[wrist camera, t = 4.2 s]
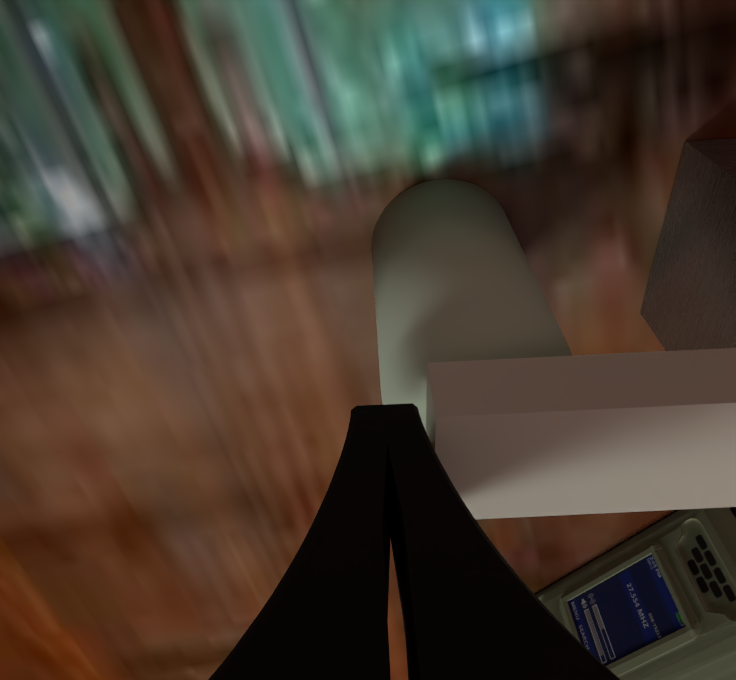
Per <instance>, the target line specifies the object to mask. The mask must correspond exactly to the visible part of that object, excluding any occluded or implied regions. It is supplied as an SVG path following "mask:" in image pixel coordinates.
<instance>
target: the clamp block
mask: <svg viewBox="0 0 736 680" xmlns="http://www.w3.org/2000/svg"><path fill="white" fill-rule="evenodd" d="M641 315H642V316H643V318H644V319H645V321H646V322H647V324H648V325H649V327H650V328H651V330H652V331H653V333H654V334H655V336H656V337H657V338H658V340H659V341H660V343H661V344H662V346H663V347H664V349H665V350H666V351H680V350H700V349H721V348H736V139H716V140H696V141H685V145H684V149H683V152H682V156H681V160H680V164H679V168H678V172H677V175H676V179H675V183H674V187H673V191H672V194H671V198H670V202H669V206H668V210H667V214H666V217H665V221H664V225H663V229H662V233H661V236H660V240H659V244H658V248H657V252H656V256H655V259H654V263H653V267H652V271H651V275H650V278H649V282H648V286H647V290H646V294H645V297H644V301H643V305H642V309H641Z"/></svg>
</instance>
